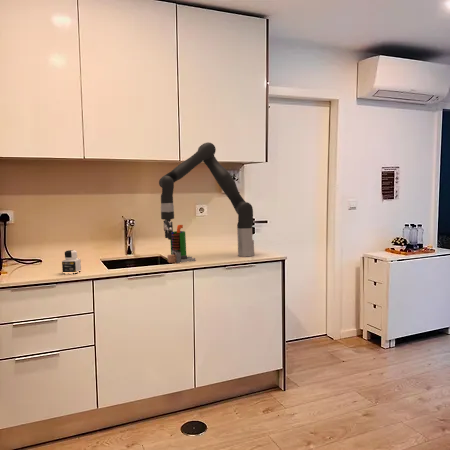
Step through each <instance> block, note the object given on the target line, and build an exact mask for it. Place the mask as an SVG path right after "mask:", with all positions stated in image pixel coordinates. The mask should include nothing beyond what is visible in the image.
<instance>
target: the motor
mask: <svg viewBox="0 0 450 450" xmlns="http://www.w3.org/2000/svg"><path fill="white" fill-rule="evenodd" d="M183 226H184V225H183V224H177V227H176V231H174V230H173V232H172V239H171V240H170V241H169V242H170V255H172V250H177V251H179V252H181V256H183V255H187V242H186V241H187V240H186V238H187V237H186V231H184V230H183V231H182V230H181V229H183Z"/></svg>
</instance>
